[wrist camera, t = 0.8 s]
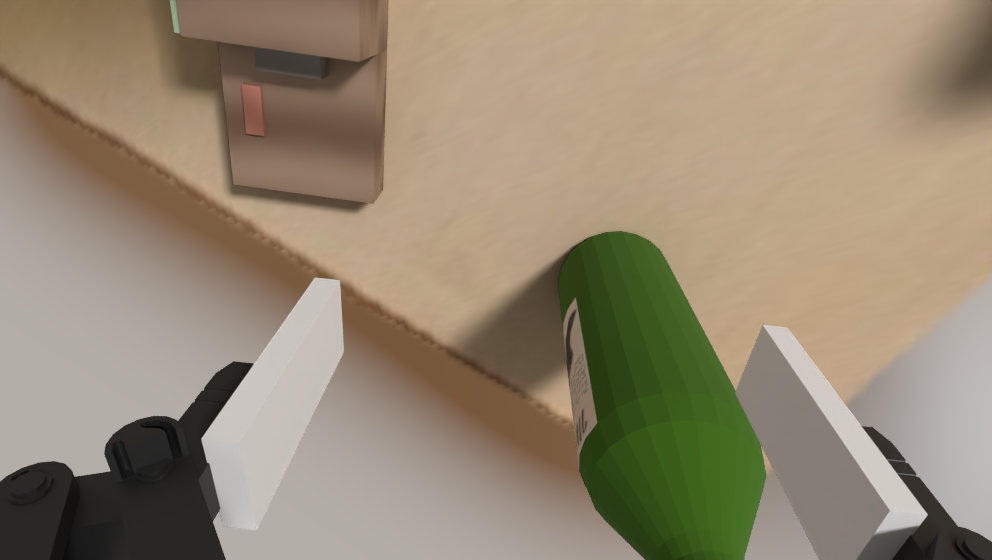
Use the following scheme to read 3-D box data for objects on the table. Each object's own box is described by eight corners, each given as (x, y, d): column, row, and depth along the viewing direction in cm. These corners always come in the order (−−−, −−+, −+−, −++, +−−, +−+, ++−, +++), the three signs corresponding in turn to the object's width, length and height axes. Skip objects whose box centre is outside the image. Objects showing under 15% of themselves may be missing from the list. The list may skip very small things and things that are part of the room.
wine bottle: (549, 240, 42) (603, 756, 14) (664, 220, 41) (985, 740, 13) (565, 332, 47) (634, 878, 18) (671, 316, 45) (924, 875, 17)
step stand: (212, -172, 31) (135, -211, 25) (392, -144, 31) (360, -177, 25) (245, 171, 41) (196, 203, 35) (382, 189, 41) (358, 225, 35)
